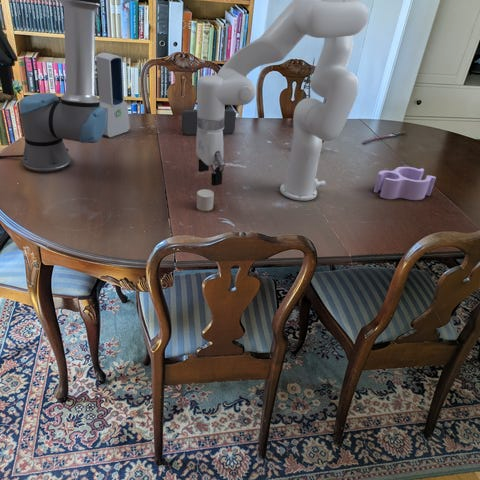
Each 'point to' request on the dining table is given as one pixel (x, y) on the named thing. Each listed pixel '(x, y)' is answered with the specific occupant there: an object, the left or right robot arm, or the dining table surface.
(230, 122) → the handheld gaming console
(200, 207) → the grey solid cylinder
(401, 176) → the clip
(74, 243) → the dining table surface
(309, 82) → the miniature windmill
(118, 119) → the electronic device
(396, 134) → the sword
